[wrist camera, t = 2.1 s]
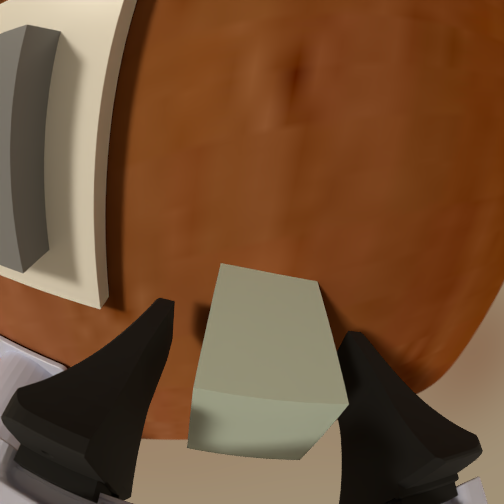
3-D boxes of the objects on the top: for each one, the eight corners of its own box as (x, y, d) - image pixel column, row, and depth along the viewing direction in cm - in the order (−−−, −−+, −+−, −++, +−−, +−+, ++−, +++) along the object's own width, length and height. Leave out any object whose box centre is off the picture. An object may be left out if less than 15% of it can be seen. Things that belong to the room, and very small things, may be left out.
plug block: (290, 348, 14) (299, 459, 8) (208, 334, 14) (186, 447, 8) (317, 281, 12) (348, 404, 7) (221, 262, 12) (193, 387, 6)
